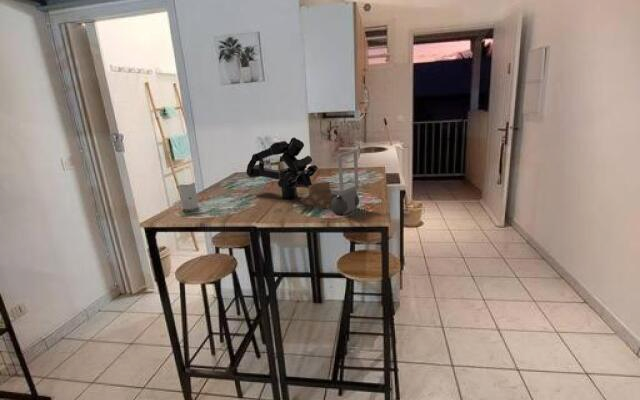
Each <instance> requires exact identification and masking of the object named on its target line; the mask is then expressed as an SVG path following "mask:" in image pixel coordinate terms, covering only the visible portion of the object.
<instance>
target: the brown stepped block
mask: <svg viewBox="0 0 640 400" xmlns="http://www.w3.org/2000/svg"><path fill="white" fill-rule="evenodd" d="M307 188H308V196H304V197H302V198H300V199H301V204H302V205H308V206H311V205H312V206H313V207H317V208H324V209H327V210H328V209H329V210H330V209H331V201H332V199H333V198H336V197H338V195H336V194H331V190H332V189H331V188H330V181H325V180H322V181H321V180H320V181H319V182H316V183H313V184H312V185H310V186H308V187H307Z"/></svg>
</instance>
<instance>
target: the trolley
mask: <svg viewBox="0 0 640 400" xmlns="http://www.w3.org/2000/svg"><path fill="white" fill-rule="evenodd" d="M350 155H353V169H354V171H353V172H354V173H353V175H354V183H353V184H352V183H345V184H344V178H343V177H344V175H343V159H342V158H343V157H346V156H350ZM337 162H338V163H337V164H338V179H339V180H338V181H339V183H338V185H339V186H338V187H335V188H332V189H330V190H331V194H336V195H337V197H336V198H333V199H332V201H331V208H330V209H331V211H332V212H333V214H336V215H342V214H343V216H345V214H346V215H347V213H348V214H349V212H350V213H352V212H354V211H356V210H357V209H358V206H359V204H360V198H359V195H358V194H357V190H358V189H359V168H358V167H359V166H358V165H359V164H358V151H357V149H352V150H349V151H346V152H341V153H338V155H337ZM353 210H354V211H353ZM351 211H352V212H351Z"/></svg>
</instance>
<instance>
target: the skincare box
mask: <svg viewBox="0 0 640 400" xmlns="http://www.w3.org/2000/svg"><path fill="white" fill-rule="evenodd" d="M178 186H179V192H180V199H181V204H182V205H181V207H182V209H183V210H191V209H192V210H195V209H197V208H199V203H198V196H197V194H198V193H197V189H196V182H189V181H188V182H182V183H180V184H178ZM194 208H195V209H194Z"/></svg>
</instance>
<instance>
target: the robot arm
mask: <svg viewBox="0 0 640 400" xmlns="http://www.w3.org/2000/svg"><path fill="white" fill-rule="evenodd" d="M304 147H305V144H304V142H303V141H301V140H300V139H298V138H296V137H291V139H290V141H289V143H288V142H287V141H286V140H282V141H277V142H274V143H273V144H271V145H270V146H269V147H268V148H266V149H264V150H261V151H259V152H256V153H253V154H252V156H251V159H250V161H249V162H248V164H247V166H246V175H247V176H248V177H249V178H258V177H262V178H263V177H264V178H268V179H273V180H274V179H275V180H278V181H277V185H278V187H279V188H281V197H280V200H281V199H283V200H293V199H295V198H297V197H298V196H299V195H298V190H297V188H298V187H296V186H295V184H298V183H300V184H302V185H303V186H305V187H306V188H308V186H310V185H313V184H312V180H311V177H313V176H314V175H315V173H316V172H317V171H318V169H319V168H318V166H317V165H316V164H312V163H313V158H312V157H311V156H310V155H306V156H305V157H303V158H300V159H298V158H297V156H299V155H300V153H301V152H302V150H303V149H304ZM278 155H280V156H279V163H283V162H284V164H285V165H286V167H287V168H285V167H284V168H283V169H280V170H279V169H271V168H265V163H264V160H265V159H267V158H270V157H273V156H278ZM257 162H258V164H257ZM310 164H312V165H310ZM308 165H309V166H308ZM302 185H301V186H302Z"/></svg>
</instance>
